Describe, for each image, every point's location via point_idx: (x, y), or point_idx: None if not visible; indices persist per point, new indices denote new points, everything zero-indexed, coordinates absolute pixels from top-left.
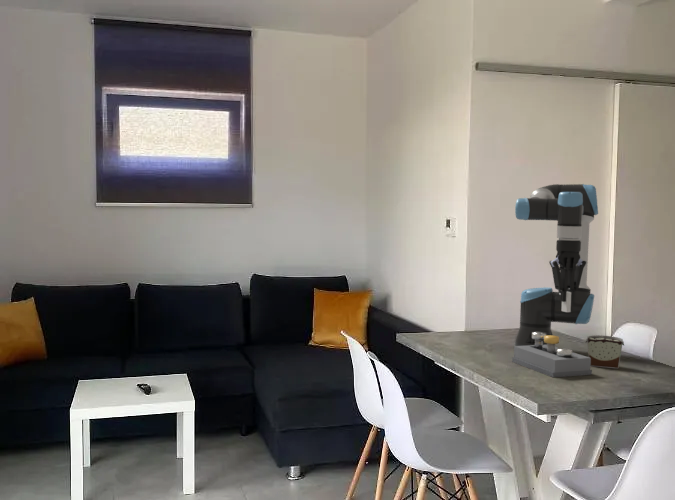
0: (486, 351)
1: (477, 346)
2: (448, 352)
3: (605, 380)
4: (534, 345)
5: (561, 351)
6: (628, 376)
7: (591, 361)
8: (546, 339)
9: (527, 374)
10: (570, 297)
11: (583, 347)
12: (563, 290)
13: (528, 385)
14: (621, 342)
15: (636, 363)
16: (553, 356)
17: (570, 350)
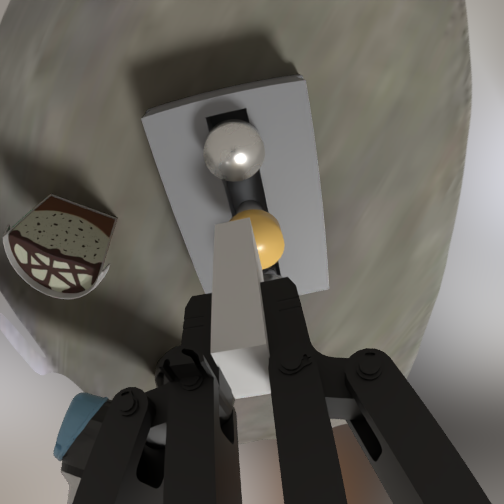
0: (323, 343)
1: None
2: (404, 327)
3: (138, 37)
4: None
5: (257, 132)
6: (51, 100)
7: (108, 223)
8: (281, 231)
9: (358, 117)
10: (219, 305)
11: (96, 368)
12: (314, 364)
13: (411, 7)
14: (10, 233)
15: None
16: (280, 140)
17: (216, 136)
